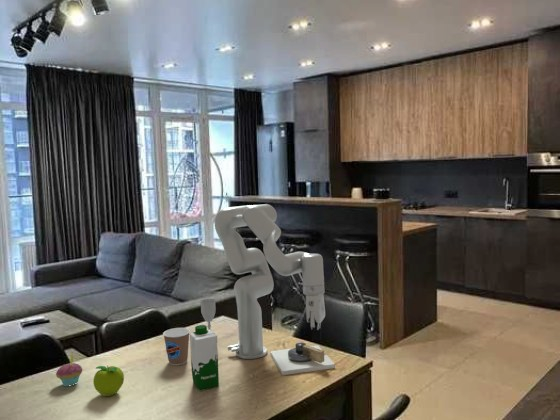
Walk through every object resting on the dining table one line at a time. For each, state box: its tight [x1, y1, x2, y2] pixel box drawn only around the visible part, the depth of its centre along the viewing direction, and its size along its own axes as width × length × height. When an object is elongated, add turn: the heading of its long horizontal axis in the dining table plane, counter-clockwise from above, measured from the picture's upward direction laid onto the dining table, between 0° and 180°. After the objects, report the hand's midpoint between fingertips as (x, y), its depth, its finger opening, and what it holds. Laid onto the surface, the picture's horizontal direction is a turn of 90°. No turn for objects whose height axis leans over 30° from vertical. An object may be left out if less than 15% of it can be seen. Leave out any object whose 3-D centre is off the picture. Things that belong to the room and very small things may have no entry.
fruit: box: [93, 365, 125, 397], centre depth 159 cm, size 9×9×10 cm
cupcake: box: [55, 351, 83, 387], centre depth 169 cm, size 9×8×12 cm
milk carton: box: [189, 324, 220, 391], centre depth 163 cm, size 9×9×20 cm
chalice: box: [199, 298, 217, 331], centre depth 206 cm, size 7×7×18 cm
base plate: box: [269, 344, 336, 376], centre depth 181 cm, size 20×20×2 cm
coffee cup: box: [162, 327, 191, 366], centre depth 185 cm, size 10×10×12 cm
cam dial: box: [288, 342, 325, 363], centre depth 179 cm, size 16×10×5 cm, turn 43°
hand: (316, 339), depth 168 cm, fingers closed
